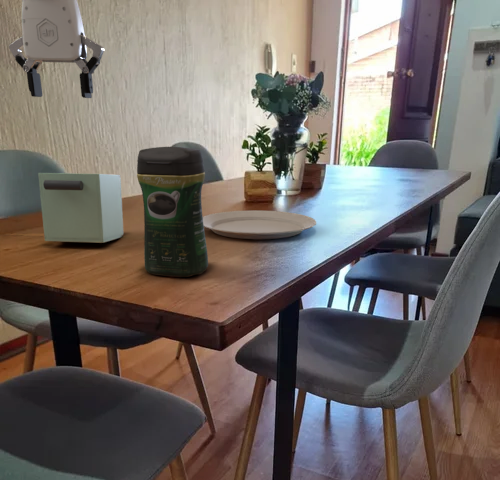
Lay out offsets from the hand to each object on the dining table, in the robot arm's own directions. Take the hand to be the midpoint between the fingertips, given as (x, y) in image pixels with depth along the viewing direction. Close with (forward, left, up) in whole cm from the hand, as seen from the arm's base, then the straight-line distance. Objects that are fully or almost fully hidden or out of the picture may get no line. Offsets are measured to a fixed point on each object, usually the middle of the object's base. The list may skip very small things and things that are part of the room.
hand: (61, 97), depth 95 cm
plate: (+36, +10, -26) cm, 46 cm away
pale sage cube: (+4, -8, -25) cm, 26 cm away
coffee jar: (+26, -24, -26) cm, 44 cm away
